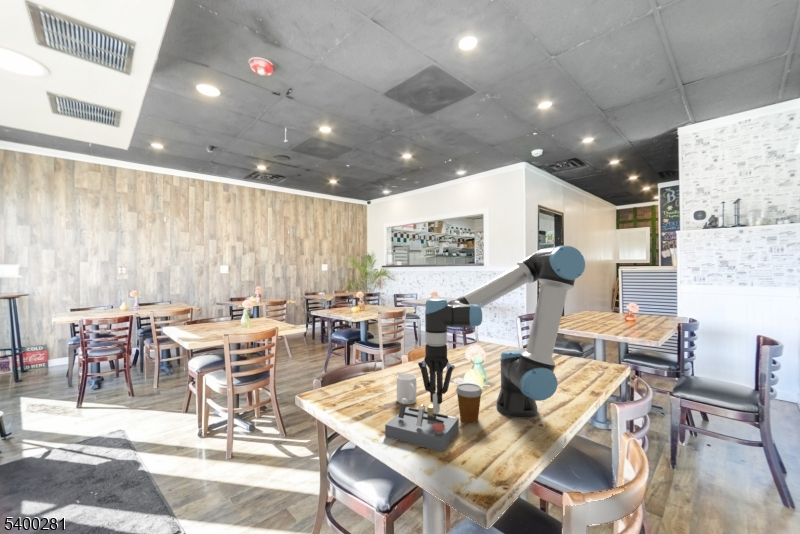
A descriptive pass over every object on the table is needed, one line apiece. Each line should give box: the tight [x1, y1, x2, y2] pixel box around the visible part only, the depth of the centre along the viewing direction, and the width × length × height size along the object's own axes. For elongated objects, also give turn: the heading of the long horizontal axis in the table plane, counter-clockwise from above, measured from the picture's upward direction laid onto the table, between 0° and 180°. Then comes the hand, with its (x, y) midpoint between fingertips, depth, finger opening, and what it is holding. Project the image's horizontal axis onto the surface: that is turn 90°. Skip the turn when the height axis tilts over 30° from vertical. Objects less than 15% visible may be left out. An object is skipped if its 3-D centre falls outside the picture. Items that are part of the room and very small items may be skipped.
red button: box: [433, 423, 445, 436], centre depth 104 cm, size 4×4×3 cm
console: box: [384, 406, 460, 453], centre depth 113 cm, size 20×16×5 cm
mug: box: [396, 373, 417, 406], centre depth 139 cm, size 12×8×10 cm
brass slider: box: [426, 403, 436, 418], centre depth 116 cm, size 2×3×4 cm, turn 152°
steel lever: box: [416, 404, 426, 427], centre depth 109 cm, size 2×2×6 cm
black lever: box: [398, 398, 408, 419], centre depth 115 cm, size 2×2×6 cm
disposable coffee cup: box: [455, 382, 483, 425], centre depth 122 cm, size 10×10×12 cm
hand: (436, 412), depth 115 cm, fingers closed
